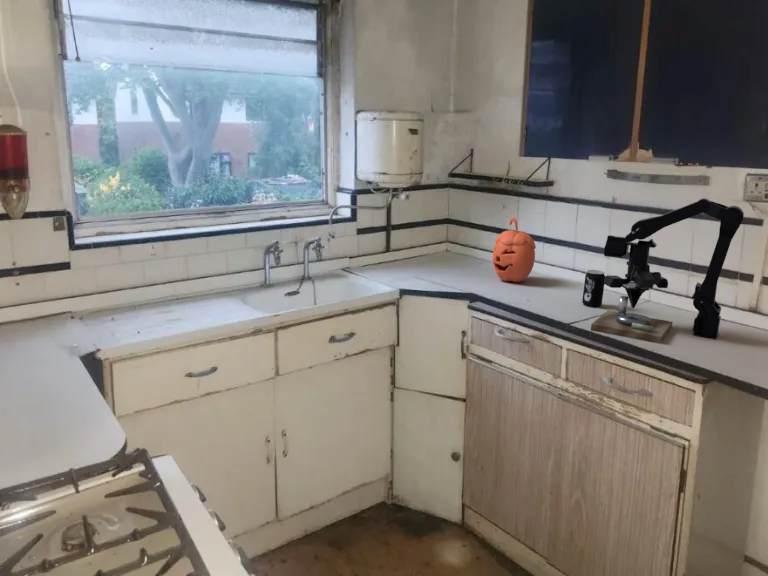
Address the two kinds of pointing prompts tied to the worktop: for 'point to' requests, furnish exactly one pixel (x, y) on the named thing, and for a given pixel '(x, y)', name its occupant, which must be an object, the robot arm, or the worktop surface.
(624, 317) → the silver curved piece
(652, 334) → the base plate
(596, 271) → the beverage can
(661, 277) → the robot arm
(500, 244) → the jack-o'-lantern
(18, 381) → the worktop surface
